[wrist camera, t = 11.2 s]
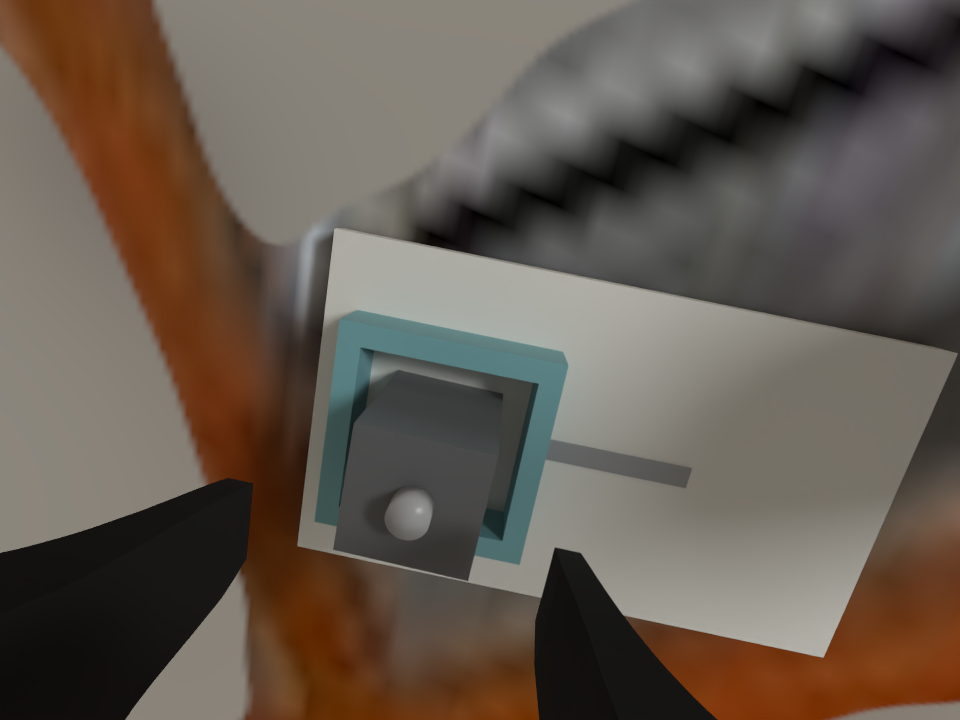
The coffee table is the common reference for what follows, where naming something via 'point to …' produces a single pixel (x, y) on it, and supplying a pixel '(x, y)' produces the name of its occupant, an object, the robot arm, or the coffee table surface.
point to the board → (636, 433)
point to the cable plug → (420, 474)
